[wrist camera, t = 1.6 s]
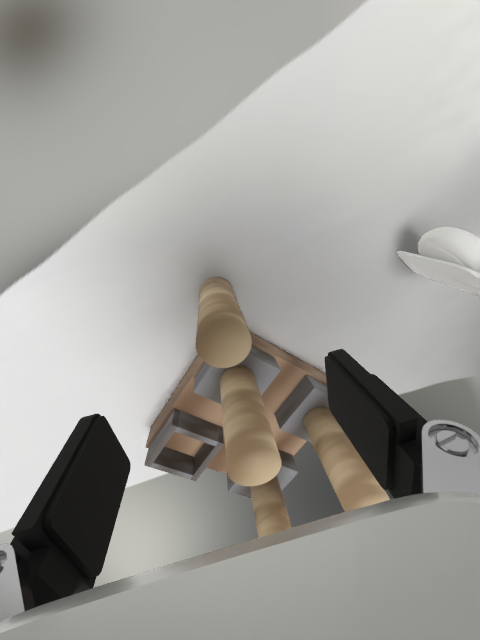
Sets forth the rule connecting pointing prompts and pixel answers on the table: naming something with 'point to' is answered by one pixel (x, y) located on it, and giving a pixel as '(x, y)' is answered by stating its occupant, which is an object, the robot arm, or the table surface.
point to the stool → (258, 432)
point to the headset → (448, 258)
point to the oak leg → (221, 326)
